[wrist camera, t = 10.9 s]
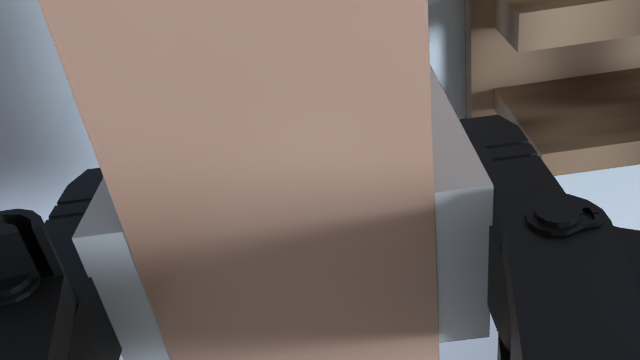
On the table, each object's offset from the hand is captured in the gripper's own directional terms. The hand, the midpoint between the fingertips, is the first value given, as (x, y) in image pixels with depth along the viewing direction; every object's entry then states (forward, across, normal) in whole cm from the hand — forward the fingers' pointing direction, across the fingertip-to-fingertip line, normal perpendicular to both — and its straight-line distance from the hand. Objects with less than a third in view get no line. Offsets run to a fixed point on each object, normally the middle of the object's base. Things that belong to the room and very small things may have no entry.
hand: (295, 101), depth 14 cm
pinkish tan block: (+1, 0, 0) cm, 1 cm away
